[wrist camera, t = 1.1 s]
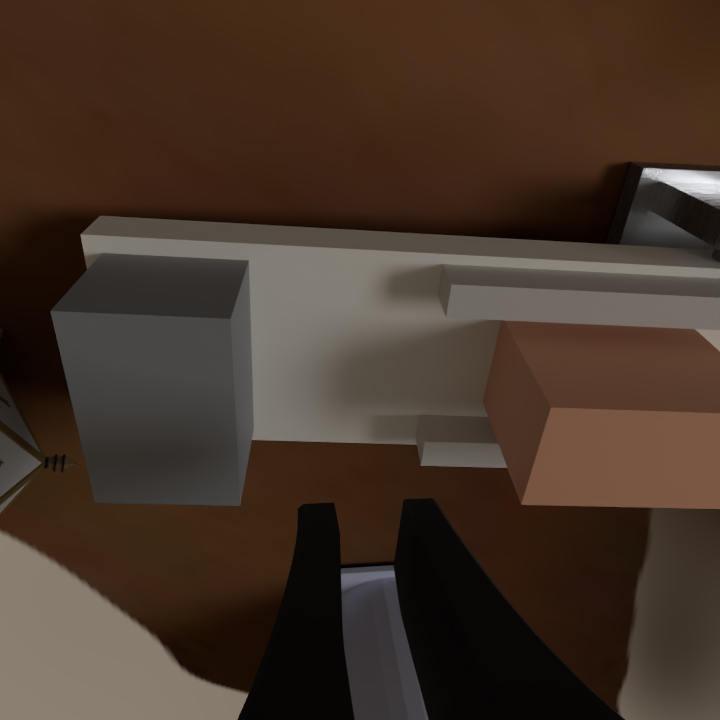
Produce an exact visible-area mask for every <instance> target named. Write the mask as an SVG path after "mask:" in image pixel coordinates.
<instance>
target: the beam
mask: <svg viewBox="0 0 720 720" xmlns="http://www.w3.org/2000/svg"><path fill="white" fill-rule="evenodd" d="M80 235H81V241H82V246H83V251H84V257H85V262H86V267H87V271H86V272H85V273H84V274H83V275H82V276H81V277H80V278H79V279H78V281H77V282H76V283H75V284H74V285H73V286H72V287H71V288H70V290H69V291H68V292H67V293H66V294H65V295H64V296H63V297H62V298H61V300H60V301H59V302H58V303H57V304H56V305H55V306H54V307H53V308H52V310H51V311H50V312H51V316H52V321H53V325H54V329H55V333H56V338H57V342H58V346H59V351H60V355H61V359H62V363H63V368H64V372H65V376H66V381H67V385H68V389H69V393H70V398H71V402H72V406H73V411H74V415H75V419H76V424H77V428H78V432H79V436H80V441H81V445H82V449H83V454H84V458H85V462H86V466H87V471H88V475H89V479H90V484H91V488H92V492H93V496H94V501H95V503H130V504H178V505H227V506H240V503H241V498H242V492H243V486H244V481H245V475H246V470H247V464H248V459H249V453H250V447H251V442H252V440H277V441H312V442H346V443H381V444H416V445H417V448H418V453H419V459H420V464H421V466H457V467H495V468H507V465H506V463H505V460H504V457H503V455H502V452H501V449H500V447H499V444H498V441H497V439H496V436H495V433H494V431H493V428H492V425H491V423H490V420H489V417H488V415H487V412H486V409H485V407H484V404H483V399H484V395H485V390H486V386H487V382H488V377H489V373H490V368H491V364H492V360H493V355H494V351H495V346H496V342H497V338H498V333H499V329H500V324H501V320H506V321H528V322H550V323H572V324H594V325H616V326H638V327H660V328H682V329H695V330H697V331H698V332H699V333H700V334H701V335H702V336H703V337H704V338H705V339H706V340H708V341H709V342H710V343H711V344H712V345H713V346H714V347H715V348H716V349H717V350H719V351H720V250H718V249H716V248H715V249H714V250H703V249H685V248H667V247H649V246H631V245H614V244H596V243H578V242H560V241H542V240H525V239H507V238H489V237H471V236H453V235H436V234H418V233H400V232H382V231H365V230H347V229H329V228H311V227H293V226H276V225H258V224H240V223H222V222H204V221H187V220H169V219H151V218H133V217H115V216H99V217H98V218H97V219H96V220H95V221H94V222H93V223H92V224H91V225H90V226H89V227H88V228H87V229H86V230H85V231H83V232H82V233H81V234H80Z"/></svg>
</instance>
